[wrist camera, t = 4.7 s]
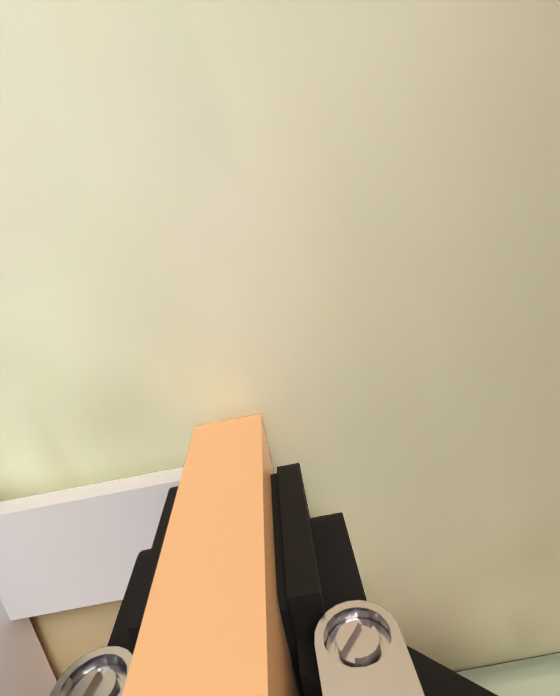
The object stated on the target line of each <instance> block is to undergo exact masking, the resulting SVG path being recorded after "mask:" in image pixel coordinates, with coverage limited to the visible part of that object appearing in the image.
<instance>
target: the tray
mask: <svg viewBox="0 0 560 696" xmlns="http://www.w3.org/2000/svg"><path fill="white" fill-rule="evenodd" d="M456 673H458V674H460V675H461V676H463V677H465V678H467V679H469V680H471V681H472V682H474V683H476V684H478V685H480V686H482V687H483V688H485V689H487V690H489V691H491V692H493V693H494V694H496V695H498V696H560V653H555V654H550V655H545V656H539V657H534V658H529V659H523V660H518V661H513V662H507V663H502V664H496V665H491V666H486V667H480V668H475V669H470V670H464V671H459V672H456Z"/></svg>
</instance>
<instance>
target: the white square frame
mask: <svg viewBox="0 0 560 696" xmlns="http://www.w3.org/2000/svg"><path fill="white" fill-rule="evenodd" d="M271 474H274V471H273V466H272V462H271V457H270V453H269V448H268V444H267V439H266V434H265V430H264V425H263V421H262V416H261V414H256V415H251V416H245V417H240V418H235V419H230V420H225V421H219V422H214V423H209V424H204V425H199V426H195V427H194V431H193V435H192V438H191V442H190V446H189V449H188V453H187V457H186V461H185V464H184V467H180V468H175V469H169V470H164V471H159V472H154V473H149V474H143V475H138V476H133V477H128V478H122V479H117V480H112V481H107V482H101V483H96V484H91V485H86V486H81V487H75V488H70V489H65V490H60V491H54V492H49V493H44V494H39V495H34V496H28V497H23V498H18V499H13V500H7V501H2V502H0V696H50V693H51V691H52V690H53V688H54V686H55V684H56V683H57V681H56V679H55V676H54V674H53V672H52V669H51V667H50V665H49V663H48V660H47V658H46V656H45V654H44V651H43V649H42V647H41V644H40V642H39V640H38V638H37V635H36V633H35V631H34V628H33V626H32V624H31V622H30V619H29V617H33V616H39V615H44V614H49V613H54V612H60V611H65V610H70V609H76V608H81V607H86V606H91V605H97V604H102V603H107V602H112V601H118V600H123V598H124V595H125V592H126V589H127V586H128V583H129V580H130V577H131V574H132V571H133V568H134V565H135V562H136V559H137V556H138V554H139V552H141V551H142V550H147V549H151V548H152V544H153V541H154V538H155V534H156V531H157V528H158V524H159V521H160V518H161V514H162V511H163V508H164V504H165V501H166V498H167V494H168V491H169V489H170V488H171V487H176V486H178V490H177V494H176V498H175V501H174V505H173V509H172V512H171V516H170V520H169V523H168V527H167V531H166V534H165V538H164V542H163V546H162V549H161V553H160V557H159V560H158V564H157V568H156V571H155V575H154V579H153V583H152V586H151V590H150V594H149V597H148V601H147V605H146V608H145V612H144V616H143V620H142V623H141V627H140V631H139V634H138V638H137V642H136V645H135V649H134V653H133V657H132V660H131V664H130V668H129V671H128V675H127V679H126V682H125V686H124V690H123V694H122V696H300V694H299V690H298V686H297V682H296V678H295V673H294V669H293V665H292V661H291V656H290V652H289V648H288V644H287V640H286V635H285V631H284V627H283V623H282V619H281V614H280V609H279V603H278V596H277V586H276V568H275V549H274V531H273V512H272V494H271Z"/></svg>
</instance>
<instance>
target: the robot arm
mask: <svg viewBox="0 0 560 696" xmlns="http://www.w3.org/2000/svg"><path fill="white" fill-rule="evenodd" d="M177 490H178V486H176V487H171V488H170V489H169V491H168V494H167V498H166V501H165V504H164V508H163V511H162V514H161V518H160V521H159V524H158V528H157V531H156V534H155V538H154V541H153V544H152V548H151V549H147V550H142V551H141V552H139V554H138V556H137V559H136V562H135V565H134V568H133V571H132V574H131V577H130V580H129V583H128V586H127V589H126V592H125V595H124V598H123V601H122V604H121V607H120V610H119V613H118V616H117V619H116V622H115V625H114V628H113V631H112V634H111V637H110V640H109V643H108V646H107V647H103V648H100V649H97V650H94V651H92V652H90V653H88V654H86V655H84V656H83V657H81V658H80V659H78V660H77V661H76V662H75V663H73V664H72V665H71V666H70V667H69V668H68V669H67V670H66V671H65V672H64V673H63V674H62V676H61V677H60V678H59V679H58V681H57V683H56V684H55V686H54V688H53V690H52V691H51V693H50V696H122V694H123V690H124V686H125V682H126V679H127V675H128V671H129V668H130V664H131V660H132V657H133V653H134V649H135V645H136V642H137V638H138V634H139V631H140V627H141V623H142V620H143V616H144V612H145V608H146V605H147V601H148V597H149V594H150V590H151V586H152V583H153V579H154V575H155V571H156V568H157V564H158V560H159V557H160V553H161V549H162V546H163V542H164V538H165V534H166V531H167V527H168V523H169V520H170V516H171V512H172V509H173V505H174V501H175V498H176V494H177ZM271 494H272V512H273V531H274V549H275V568H276V586H277V596H278V603H279V609H280V614H281V619H282V623H283V627H284V631H285V635H286V640H287V644H288V648H289V652H290V656H291V661H292V665H293V669H294V673H295V678H296V682H297V686H298V690H299V694H300V696H498V695H496V694H494V693H493V692H491V691H489V690H487V689H485V688H483V687H482V686H480V685H478V684H476V683H474V682H472V681H471V680H469V679H467V678H465V677H463V676H461V675H460V674H458V673H456V672H454V671H452V670H450V669H449V668H447V667H445V666H443V665H441V664H439V663H438V662H436V661H434V660H432V659H430V658H428V657H427V656H425V655H423V654H421V653H419V652H417V651H416V650H414V649H412V648H410V647H408V646H406V643H405V641H404V638H403V635H402V632H401V630H400V627H399V625H398V623H397V622H396V620H395V618H394V616H393V615H392V614H391V613H389V612H388V611H387V610H386V609H385V608H384V607H382V606H380V605H378V604H375V603H373V602H369V601H367V600H366V597H365V593H364V590H363V586H362V582H361V579H360V575H359V571H358V568H357V564H356V561H355V557H354V553H353V550H352V546H351V543H350V539H349V535H348V532H347V528H346V525H345V521H344V517H343V514H342V512H341V513H336V514H331V515H325V516H320V517H315V518H310V515H309V510H308V505H307V500H306V495H305V490H304V484H303V479H302V474H301V469H300V465H299V463H296V464H291V465H285V466H280V467H277V473H276V474H271Z"/></svg>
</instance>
